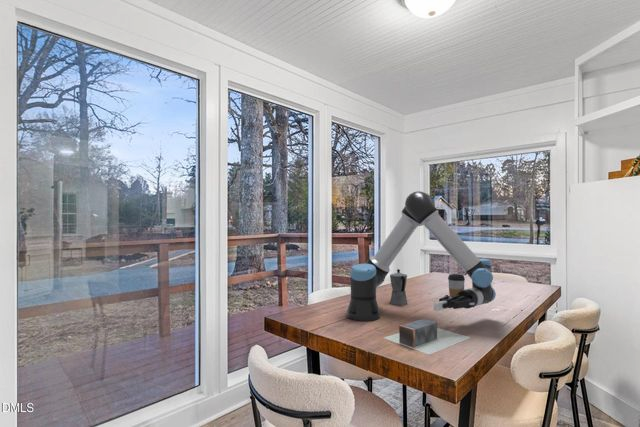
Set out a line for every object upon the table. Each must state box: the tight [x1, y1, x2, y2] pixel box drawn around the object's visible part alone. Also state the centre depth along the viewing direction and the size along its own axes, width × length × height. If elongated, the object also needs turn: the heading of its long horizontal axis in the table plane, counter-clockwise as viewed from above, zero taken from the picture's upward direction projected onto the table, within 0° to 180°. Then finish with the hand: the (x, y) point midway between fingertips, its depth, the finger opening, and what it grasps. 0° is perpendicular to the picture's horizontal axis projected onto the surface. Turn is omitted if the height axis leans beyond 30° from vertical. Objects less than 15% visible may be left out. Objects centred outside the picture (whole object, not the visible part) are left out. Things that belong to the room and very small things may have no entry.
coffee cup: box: [447, 273, 466, 297], centre depth 180 cm, size 8×8×15 cm
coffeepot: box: [389, 269, 408, 306], centre depth 181 cm, size 15×9×18 cm, turn 6°
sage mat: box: [383, 327, 472, 355], centre depth 127 cm, size 26×20×1 cm
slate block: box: [398, 318, 438, 348], centre depth 124 cm, size 6×6×14 cm
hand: (435, 306), depth 130 cm, fingers closed
